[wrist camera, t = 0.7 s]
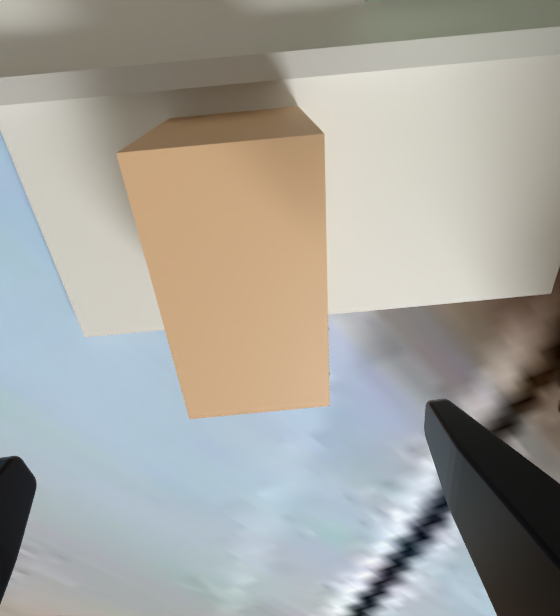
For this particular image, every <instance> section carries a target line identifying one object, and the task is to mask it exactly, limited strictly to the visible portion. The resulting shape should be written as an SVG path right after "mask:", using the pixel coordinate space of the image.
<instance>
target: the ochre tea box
mask: <svg viewBox="0 0 560 616" xmlns="http://www.w3.org/2000/svg"><path fill="white" fill-rule="evenodd" d="M116 155H117V158H118V162H119V166H120V169H121V173H122V176H123V180H124V184H125V187H126V191H127V195H128V198H129V202H130V205H131V209H132V213H133V216H134V220H135V224H136V227H137V231H138V234H139V238H140V242H141V245H142V249H143V252H144V256H145V260H146V263H147V267H148V271H149V274H150V278H151V281H152V285H153V289H154V292H155V296H156V299H157V303H158V307H159V310H160V314H161V318H162V321H163V325H164V328H165V332H166V336H167V339H168V343H169V346H170V350H171V354H172V357H173V361H174V365H175V368H176V372H177V375H178V379H179V383H180V386H181V390H182V393H183V397H184V401H185V404H186V408H187V412H188V415H189V419H195V418H205V417H216V416H227V415H237V414H248V413H258V412H269V411H280V410H290V409H301V408H311V407H322V406H330V397H329V344H328V291H327V238H326V185H325V134H324V133H323V132H322V131H321V130H320V128H319V127H318V126H317V125H316V124H315V123H314V122H313V121H312V120H311V119H310V118H309V117H308V116H307V115H306V114H305V113H304V112H303V111H302V110H301V109H300V108H299V106H296V107H285V108H274V109H263V110H252V111H241V112H230V113H220V114H209V115H198V116H187V117H176V118H169V119H167V120H166V121H164V122H163V123H161V124H160V125H158V126H157V127H155V128H154V129H152V130H151V131H149V132H147V133H146V134H144V135H143V136H141V137H140V138H138V139H137V140H135V141H134V142H132V143H131V144H129V145H127V146H126V147H124V148H123V149H121V150H120V151H118V152H117V153H116Z"/></svg>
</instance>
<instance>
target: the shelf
mask: <svg viewBox="0 0 560 616" xmlns="http://www.w3.org/2000/svg"><path fill="white" fill-rule="evenodd" d="M296 106H299V108H300V109H301V110H302V111H303V112H304V113H305V114H306V115H307V116H308V117H309V118H310V119H311V120H312V121H313V122H314V123H315V124H316V125H317V126H318V127H319V128H320V130H321V131H322V132H323V133H324V134H325V185H326V238H327V291H328V315H329V314H340V313H350V312H361V311H372V310H382V309H393V308H404V307H414V306H425V305H436V304H446V303H457V302H468V301H479V300H489V299H500V298H511V297H521V296H532V295H543V294H551V292H552V289H553V286H554V283H555V279H556V276H557V273H558V270H559V267H560V0H384V1H373V2H365V0H0V130H1V133H2V135H3V138H4V140H5V143H6V145H7V148H8V150H9V153H10V155H11V157H12V160H13V162H14V165H15V167H16V170H17V172H18V175H19V177H20V180H21V182H22V184H23V187H24V189H25V192H26V194H27V197H28V199H29V202H30V204H31V206H32V209H33V211H34V214H35V216H36V219H37V221H38V224H39V226H40V229H41V231H42V233H43V236H44V238H45V241H46V243H47V246H48V248H49V251H50V253H51V256H52V258H53V260H54V263H55V265H56V268H57V270H58V273H59V275H60V278H61V280H62V283H63V285H64V287H65V290H66V292H67V295H68V297H69V300H70V302H71V305H72V307H73V310H74V312H75V314H76V317H77V319H78V322H79V324H80V327H81V329H82V332H83V334H84V337H94V336H104V335H115V334H126V333H136V332H147V331H158V330H165V328H164V325H163V321H162V318H161V314H160V310H159V307H158V303H157V299H156V296H155V292H154V289H153V285H152V281H151V278H150V274H149V271H148V267H147V263H146V260H145V256H144V252H143V249H142V245H141V242H140V238H139V234H138V231H137V227H136V224H135V220H134V216H133V213H132V209H131V205H130V202H129V198H128V195H127V191H126V187H125V184H124V180H123V176H122V173H121V169H120V166H119V162H118V158H117V155H116V153H117V152H118V151H120V150H121V149H123V148H124V147H126V146H127V145H129V144H131V143H132V142H134V141H135V140H137V139H138V138H140V137H141V136H143V135H144V134H146V133H147V132H149V131H151V130H152V129H154V128H155V127H157V126H158V125H160V124H161V123H163V122H164V121H166V120H167V119H169V118H176V117H187V116H198V115H209V114H220V113H230V112H241V111H252V110H263V109H274V108H285V107H296Z"/></svg>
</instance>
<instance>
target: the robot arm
mask: <svg viewBox="0 0 560 616" xmlns="http://www.w3.org/2000/svg"><path fill="white" fill-rule="evenodd" d="M424 431H425V436H426V440H427V443H428V446H429V449H430V452H431V455H432V458H433V461H434V464H435V467H436V470H437V473H438V476H439V480H440V483H441V486H442V489H443V492H444V495H445V498H446V501H447V504H448V506H449V509H450V511H451V514H452V516H453V518H454V521H455V523H456V525H457V527H458V529H459V532H460V534H461V536H462V538H463V541H464V543H465V545H466V547H467V549H468V552H469V554H470V556H471V558H472V561H473V563H474V565H475V567H476V569H477V572H478V574H479V576H480V578H481V581H482V583H483V585H484V587H485V589H486V592H487V594H488V596H489V598H490V601H491V603H492V605H493V607H494V609H495V612H496V614H497V616H560V484H559V483H558V482H557V481H555V480H554V479H553V478H551V477H550V476H549V475H547V474H546V473H545V472H543V471H542V470H541V469H539V468H538V467H537V466H535V465H534V464H533V463H531V462H530V461H529V460H527V459H526V458H525V457H523V456H522V455H521V454H519V453H518V452H517V451H515V450H514V449H513V448H512V447H510V446H509V445H508V444H506V443H505V442H504V441H502V440H501V439H500V438H498V437H497V436H496V435H494V434H493V433H492V432H490V431H489V430H488V429H486V428H485V427H484V426H482V425H481V424H480V423H478V422H477V421H476V420H474V419H473V418H472V417H470V416H469V415H468V414H466V413H465V412H464V411H462V410H461V409H460V408H459V407H457V406H456V405H455V404H453V403H452V402H451V401H449V400H447V399H437V400H430V401H428V402H427V403H426V409H425V423H424ZM35 491H36V479H35V477H34V475H33V474H32V473H31V471H30V470H29V468H28V467H27V466H26V464H25V463H24V461H23V460H22V459H21V458H20V457H18V456H10V457H2V458H0V604H1V601H2V598H3V596H4V593H5V590H6V588H7V585H8V582H9V580H10V577H11V574H12V571H13V569H14V566H15V563H16V560H17V557H18V553H19V550H20V546H21V543H22V539H23V535H24V532H25V528H26V524H27V521H28V517H29V513H30V510H31V506H32V502H33V499H34V495H35Z"/></svg>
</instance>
